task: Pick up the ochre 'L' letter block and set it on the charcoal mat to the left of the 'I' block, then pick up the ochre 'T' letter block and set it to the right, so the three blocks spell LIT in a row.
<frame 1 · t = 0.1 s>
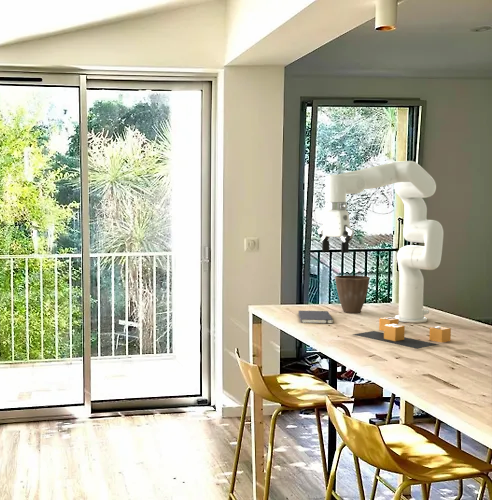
hand: (335, 251, 247), 31 cm above the table, tool pointing down, fingers open, 9 cm apart
letter T: (388, 331, 251), on the table
word mat: (394, 340, 234), on the table
letter I: (394, 339, 234), resting on word mat
notebook: (315, 319, 279), on the table
letter L: (439, 341, 232), on the table
flower pot: (351, 312, 295), on the table
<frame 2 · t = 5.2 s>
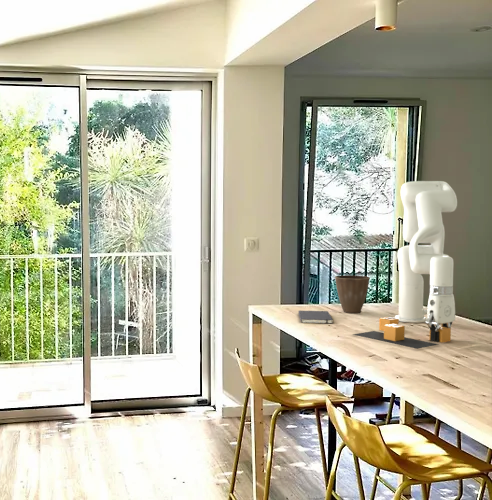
hand: (439, 340, 232), 0 cm above the table, tool pointing down, fingers closed on letter L, 5 cm apart
letter L: (439, 341, 232), on the table, touching gripper
everything else where it was.
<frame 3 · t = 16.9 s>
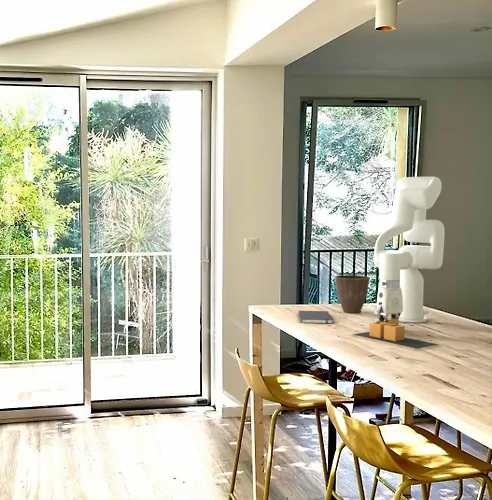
hand: (388, 330, 251), 0 cm above the table, tool pointing down, fingers closed on letter T, 5 cm apart
letter T: (388, 331, 251), on the table, touching gripper
letter L: (379, 336, 240), resting on word mat
everything else where it was.
when the fingers open (1 cm above the table, at t = 24.1 s): letter T stays where it is, resting on word mat.
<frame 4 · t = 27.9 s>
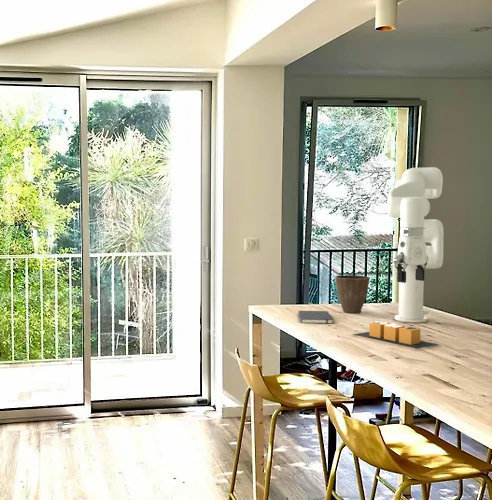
hand: (410, 281, 227), 22 cm above the table, tool pointing down, fingers open, 9 cm apart
letter T: (409, 342, 229), resting on word mat
everything else where it was.
at the end: letter L 0.1 cm from the target spot, point 0.5 cm above the table; letter T 0.1 cm from the target spot, point 0.5 cm above the table; letter I moved 0.0 cm from its start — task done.
